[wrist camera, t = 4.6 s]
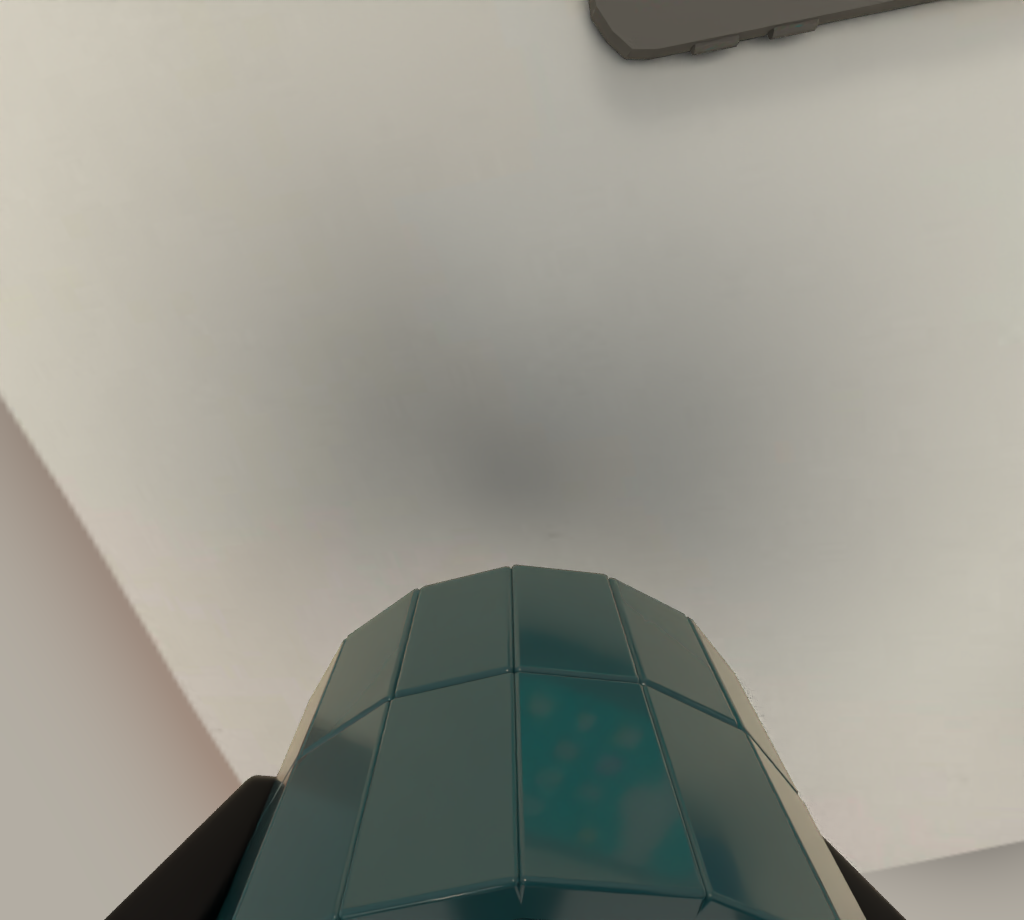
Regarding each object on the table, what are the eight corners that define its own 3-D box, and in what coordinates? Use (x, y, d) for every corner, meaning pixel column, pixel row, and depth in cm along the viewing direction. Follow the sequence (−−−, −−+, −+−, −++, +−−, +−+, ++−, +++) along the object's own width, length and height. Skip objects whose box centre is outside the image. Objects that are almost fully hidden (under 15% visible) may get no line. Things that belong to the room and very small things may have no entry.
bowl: (678, 880, 10) (795, 1312, 6) (316, 853, 10) (181, 1294, 6) (781, 573, 8) (1073, 922, 4) (322, 522, 8) (110, 850, 4)
